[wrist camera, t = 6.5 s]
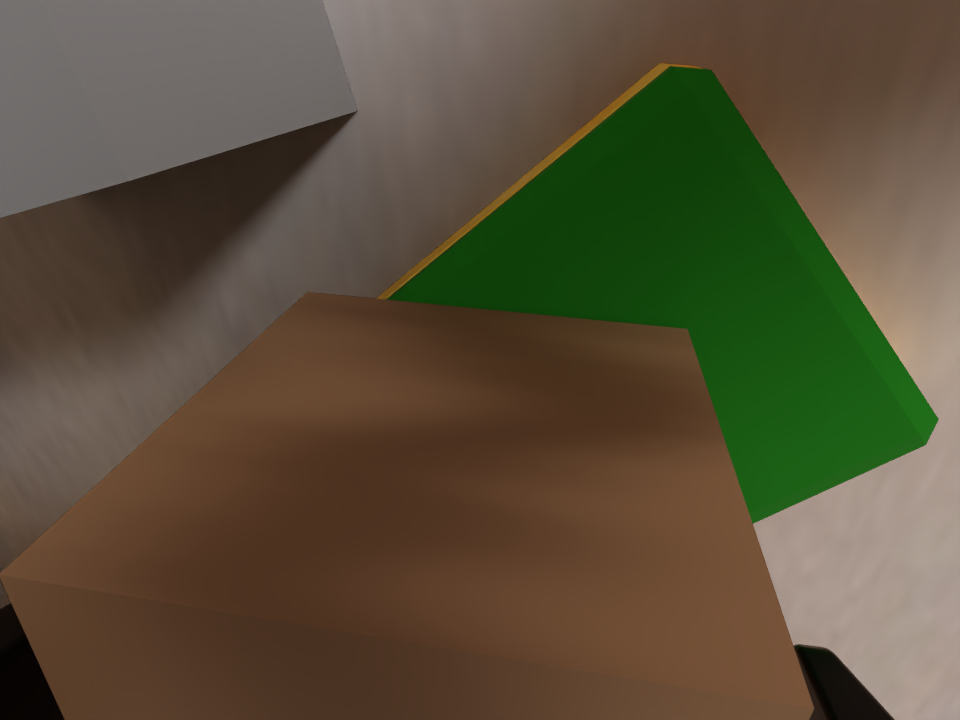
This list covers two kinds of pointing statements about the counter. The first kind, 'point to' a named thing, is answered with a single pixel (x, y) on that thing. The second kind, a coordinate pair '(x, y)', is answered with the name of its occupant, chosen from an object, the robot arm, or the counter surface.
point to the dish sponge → (697, 282)
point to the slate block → (153, 87)
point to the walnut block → (420, 536)
